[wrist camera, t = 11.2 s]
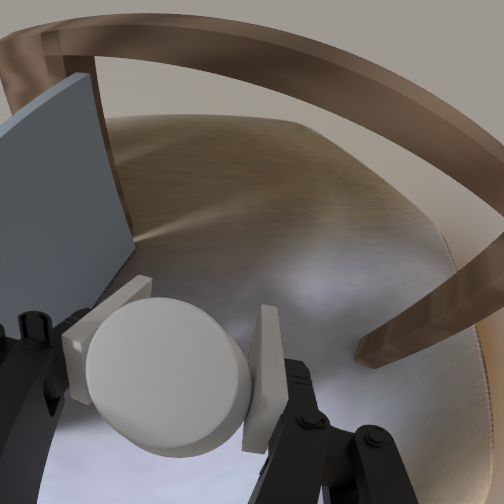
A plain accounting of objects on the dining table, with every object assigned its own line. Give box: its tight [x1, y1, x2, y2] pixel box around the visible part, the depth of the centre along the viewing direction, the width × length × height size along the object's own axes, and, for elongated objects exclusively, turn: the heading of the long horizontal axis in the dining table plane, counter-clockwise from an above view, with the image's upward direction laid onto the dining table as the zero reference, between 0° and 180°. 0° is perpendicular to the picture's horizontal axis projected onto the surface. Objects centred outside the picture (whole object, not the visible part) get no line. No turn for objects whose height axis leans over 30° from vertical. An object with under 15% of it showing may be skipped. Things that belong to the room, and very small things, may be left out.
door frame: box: [0, 13, 504, 369], centre depth 15 cm, size 34×2×18 cm, turn 65°
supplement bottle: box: [86, 298, 252, 458], centre depth 10 cm, size 5×5×10 cm
